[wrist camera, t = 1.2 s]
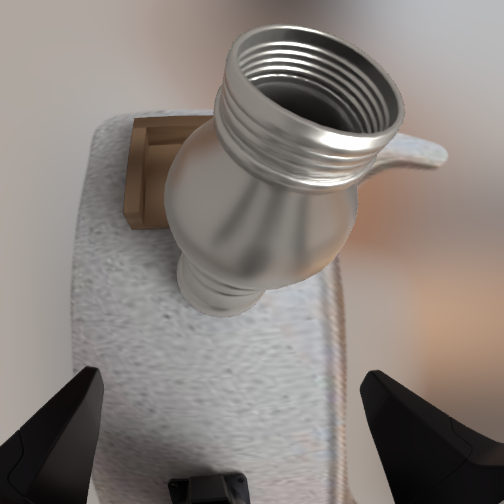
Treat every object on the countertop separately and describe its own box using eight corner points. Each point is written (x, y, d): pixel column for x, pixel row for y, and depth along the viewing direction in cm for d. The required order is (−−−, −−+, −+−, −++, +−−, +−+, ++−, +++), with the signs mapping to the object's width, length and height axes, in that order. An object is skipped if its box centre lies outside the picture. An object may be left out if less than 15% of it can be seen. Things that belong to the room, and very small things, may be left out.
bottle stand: (297, 224, 26) (311, 208, 23) (131, 229, 23) (123, 212, 20) (282, 141, 29) (292, 119, 25) (138, 141, 25) (134, 118, 22)
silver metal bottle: (167, 255, 23) (120, 13, 4) (244, 230, 25) (356, 11, 6) (194, 331, 22) (203, 304, 3) (273, 301, 24) (492, 185, 5)
